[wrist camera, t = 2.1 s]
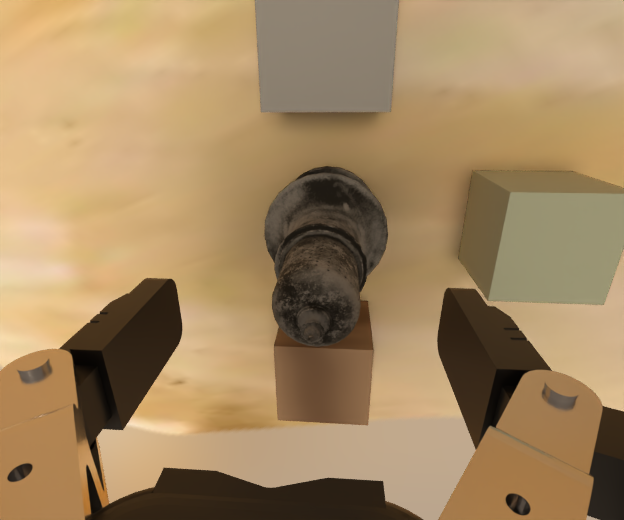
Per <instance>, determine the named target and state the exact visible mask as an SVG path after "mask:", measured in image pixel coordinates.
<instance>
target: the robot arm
mask: <svg viewBox="0 0 624 520" xmlns="http://www.w3.org/2000/svg"><path fill="white" fill-rule="evenodd" d="M181 336H182V320H181V313H180V307H179V301H178V294H177V288H176V284H175V282H174V281H173V280H172V279H157V278H146V279H144V280H143V281H142V282H141V283H140V284H139V285H138V286H137V287H136V288H135V289H133V290H132V291H131V292H130V293H129V294H126V295H124V296H122V297H120V298H118V299H116V300H114V301H112V302H110V303H109V304H108V305H107V306H106V307H105V308H104V309H103V310H102V311H100V314H97V315H96V316H95V317H94V318H93V319H92V320H90V323H87V324H86V325H85V326H84V327H83V328H82V329H80V330H79V331H78V332H77V333H76V334H75V335H74V336H73V337H72V338H70V339H69V340H68V341H67V342H66V343H65V344H64V345H63V346H61V347H60V348H59V349H47V350H41V351H37V352H33V353H30V354H28V355H25V356H22V357H20V358H18V359H16V360H15V361H13V362H11V363H10V364H8V365H7V366H5V367H4V368H3V369H2V370H1V371H0V520H423V519H421V518H420V517H418V516H417V515H415V514H413V513H412V512H410V511H408V510H406V509H404V508H402V507H400V506H398V505H395V504H393V503H390V502H387V501H385V494H384V486H383V481H371V480H355V479H338V478H325V479H319V480H313V481H309V482H303V483H297V484H292V485H286V486H281V487H276V488H266V487H262V486H259V485H256V484H253V483H250V482H247V481H244V480H242V479H239V478H236V477H233V476H230V475H227V474H224V473H221V472H218V471H208V470H207V471H206V470H192V469H176V468H164V469H163V471H162V473H161V475H160V477H159V479H158V481H157V483H156V486H155V487H154V488H148V489H145V490H142V491H138V492H135V493H133V494H130V495H128V496H125V497H123V498H120V499H118V500H116V501H114V502H112V503H111V504H109V500H108V494H107V488H106V483H105V476H104V470H103V464H102V458H101V452H100V446H99V443H98V440H97V436H98V434H99V433H100V432H101V431H102V429H113V430H123V429H124V428H125V426H126V424H127V423H128V421H129V420H130V418H131V417H132V415H133V414H134V412H135V411H136V409H137V408H138V406H139V404H140V403H141V401H142V400H143V398H144V397H145V395H146V394H147V392H148V391H149V389H150V388H151V386H152V384H153V383H154V381H155V380H156V378H157V377H158V375H159V374H160V372H161V371H162V369H163V367H164V366H165V364H166V363H167V361H168V360H169V358H170V357H171V355H172V354H173V352H174V351H175V349H176V347H177V346H178V344H179V342H180V339H181ZM437 342H438V352H439V356H440V359H441V361H442V364H443V366H444V369H445V371H446V374H447V377H448V379H449V382H450V384H451V387H452V389H453V392H454V395H455V397H456V400H457V402H458V405H459V407H460V410H461V413H462V415H463V418H464V420H465V423H466V425H467V428H468V431H469V433H470V436H471V438H472V441H473V443H474V446H475V449H476V451H475V453H474V455H473V457H472V458H471V460H470V462H469V464H468V466H467V468H466V469H465V471H464V473H463V475H462V477H461V479H460V481H459V482H458V484H457V486H456V488H455V490H454V491H453V493H452V495H451V497H450V499H449V501H448V502H447V504H446V506H445V508H444V510H443V512H442V514H441V515H440V517H439V519H438V520H586V518H587V515H588V516H591V517H594V518H597V519H600V520H624V412H623V411H619V410H615V409H611V408H608V407H604V406H602V403H601V401H600V399H599V397H598V396H597V395H596V394H595V393H594V392H593V391H592V390H591V389H590V388H589V387H587V386H586V385H585V384H583V383H581V382H580V381H578V380H576V379H574V378H572V377H570V376H567V375H565V374H562V373H559V372H555V371H552V370H551V369H550V367H549V366H548V365H547V364H546V362H545V361H544V360H543V358H542V357H541V356H540V355H539V353H538V352H537V351H536V349H535V348H534V347H533V346H532V344H531V343H530V342H529V341H527V338H526V337H525V335H524V334H523V333H522V332H521V331H519V328H518V326H517V325H516V324H515V323H514V321H513V320H512V319H511V317H510V316H508V315H507V314H505V313H504V312H502V311H501V310H499V309H498V308H496V307H494V306H487V305H486V303H485V302H484V300H483V299H482V297H481V296H480V295H479V293H478V292H477V291H476V290H475V289H461V288H447V289H446V291H445V294H444V298H443V305H442V311H441V317H440V324H439V330H438V339H437Z"/></svg>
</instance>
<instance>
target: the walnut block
mask: <svg viewBox="0 0 624 520" xmlns="http://www.w3.org/2000/svg"><path fill="white" fill-rule="evenodd" d="M360 304H361V307H360V314H359V318H358V321H357V323H356V325H355V327H354V329H353V330H352V332H351V333H350V334H349V335H348V336H347V337H346V338H344V339H343V340H341V341H339V342H338V343H335V344H332V345H328V346H319V347H315V346H308V345H305V344H302V343H299V342H297V341H295V340H293V339H292V338H290V337H289V336H287V335H286V334H285V333H284V332H283V331H282V330H281V328H280V327H279V329H278V333H277V337H276V340H275V344H274V358H275V377H276V395H277V414H278V420H285V421H302V422H320V423H337V424H355V425H368V419H369V405H370V392H371V379H372V365H373V352H374V350H373V341H372V333H371V325H370V316H369V308H368V301H360Z"/></svg>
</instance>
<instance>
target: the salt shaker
mask: <svg viewBox="0 0 624 520" xmlns="http://www.w3.org/2000/svg"><path fill="white" fill-rule="evenodd" d="M387 237H388V230H387V220H386V217H385V214H384V212H383V209H382V207H381V204H380V203H379V201H378V200H377V199H376V197H375V196H374V195H373V194H372V192H371V191H370V190H369V188H368V187H367V186H366V184H365V183H364V182H363V180H361V179H360V178H359V177H357V176H356V175H355V174H353V173H352V172H350V171H347V170H344V169H342V168H338V167H328V166H326V167H320V168H314V169H312V170H310V171H308V172H305V173H303V174H302V175H301V176H299V177H298V178H297V179H296V180H295V181H293V182H291V183H290V184H289V185H288V186H287V187H285V188H284V189H283V190H282V191H281V192H279V194H278V195H277V197H276V198H275V200H274V201H273V203H272V204H271V205H270V208H269V211H268V214H267V217H266V220H265V240H266V245H267V249H268V252H269V254H270V256H271V257H272V259H273V261H274V263H275V273H276V277H277V280H278V281H277V283H276V286H275V289H274V292H273V295H272V309H273V313H274V317H275V320H276V322H277V324H278V325H279V327H280V328H281V330H282V331H283V332H284V333H285V334H286V335H287V336H289V337H290V338H292V339H293V340H295V341H297V342H299V343H302V344H305V345H308V346H315V347H319V346H328V345H332V344H335V343H338V342H339V341H341V340H343V339H344V338H346V337H347V336H348V335H349V334H350V333H351V332H352V330H353V329H354V327H355V325H356V323H357V321H358V318H359V314H360V307H361V304H360V292H361V291H362V288H363V286H364V284H365V282H366V279H367V275H369V274H370V273H371V271H372V270H373V269H374V268H375V267H376V266H377V265H378V263H379V261H380V259H381V257H382V255H383V253H384V251H385V248H386V243H387Z"/></svg>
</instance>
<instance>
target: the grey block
mask: <svg viewBox="0 0 624 520" xmlns="http://www.w3.org/2000/svg"><path fill="white" fill-rule="evenodd" d="M398 6H399V0H255V11H256V29H257V47H258V66H259V84H260V103H261V112H391V103H392V89H393V75H394V61H395V48H396V34H397V20H398Z"/></svg>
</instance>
